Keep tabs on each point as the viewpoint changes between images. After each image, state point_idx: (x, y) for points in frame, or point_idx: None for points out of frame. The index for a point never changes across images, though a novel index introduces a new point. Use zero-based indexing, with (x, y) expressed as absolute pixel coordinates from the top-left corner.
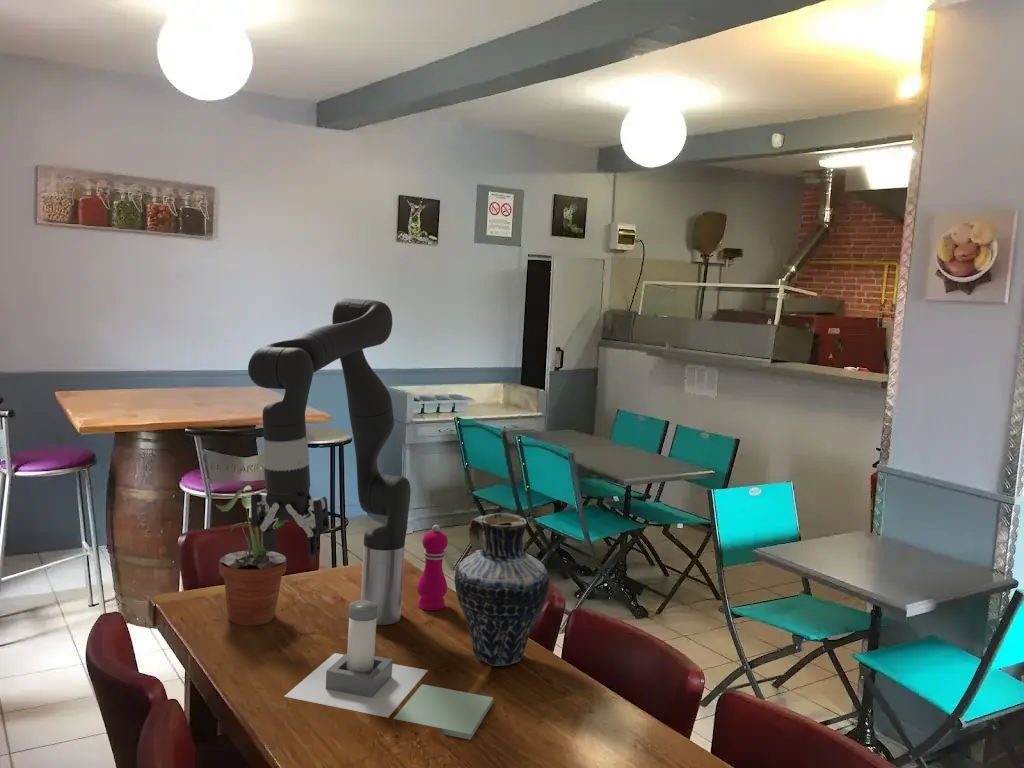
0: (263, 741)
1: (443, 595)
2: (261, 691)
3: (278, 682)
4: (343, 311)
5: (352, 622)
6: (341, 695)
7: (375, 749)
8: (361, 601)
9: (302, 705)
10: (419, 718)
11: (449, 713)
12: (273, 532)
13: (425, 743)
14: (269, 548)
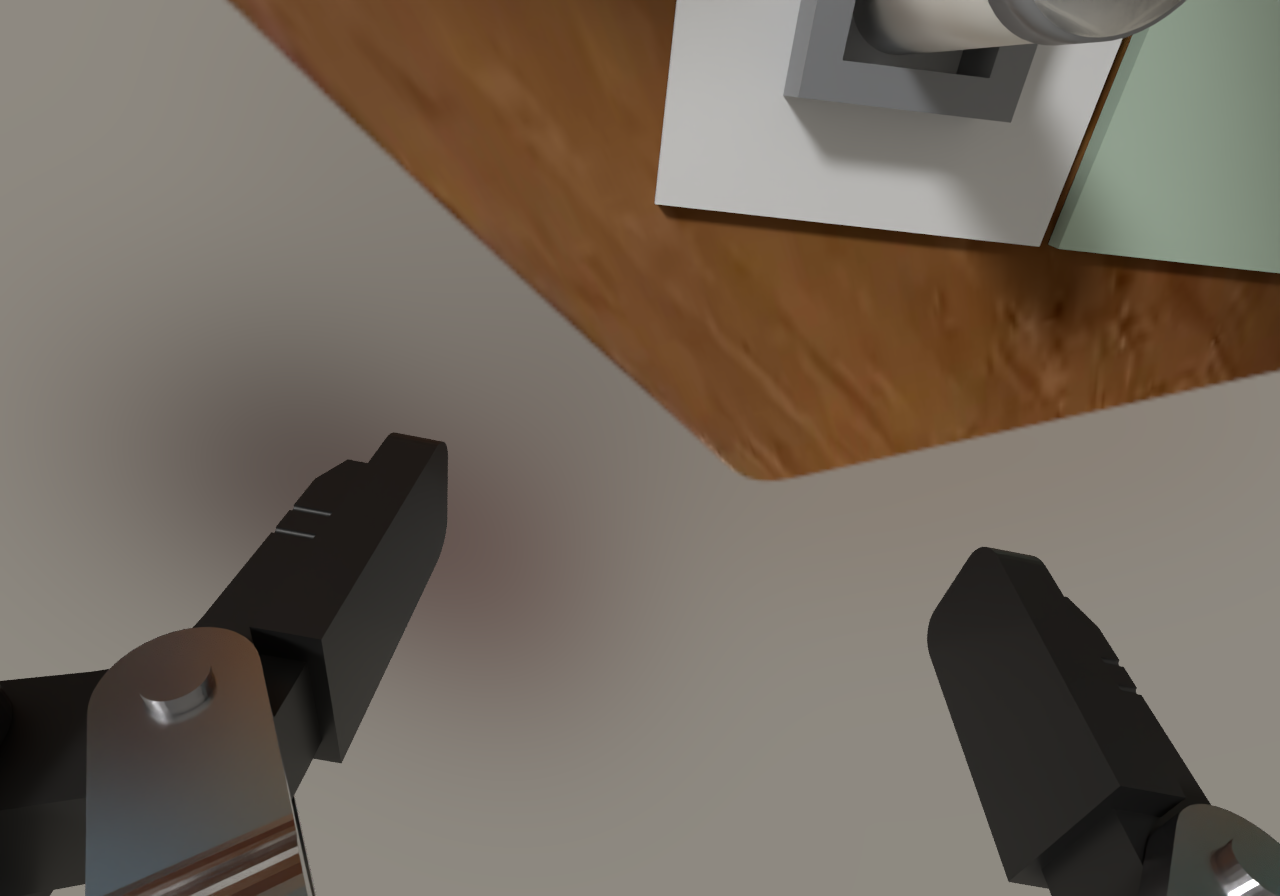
0: (690, 427)
1: None
2: (546, 146)
3: (570, 47)
4: None
5: (1001, 27)
6: (855, 134)
7: (995, 391)
8: None
9: None
10: (1151, 222)
11: (1273, 156)
12: (353, 630)
13: (1145, 327)
14: (432, 561)
